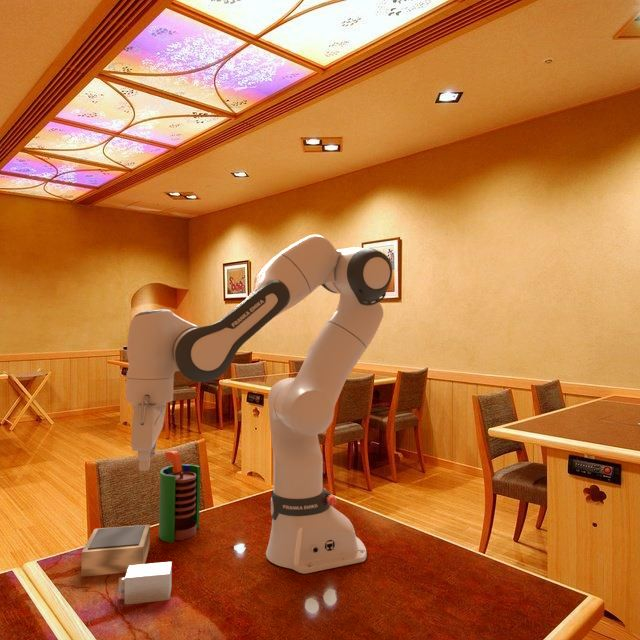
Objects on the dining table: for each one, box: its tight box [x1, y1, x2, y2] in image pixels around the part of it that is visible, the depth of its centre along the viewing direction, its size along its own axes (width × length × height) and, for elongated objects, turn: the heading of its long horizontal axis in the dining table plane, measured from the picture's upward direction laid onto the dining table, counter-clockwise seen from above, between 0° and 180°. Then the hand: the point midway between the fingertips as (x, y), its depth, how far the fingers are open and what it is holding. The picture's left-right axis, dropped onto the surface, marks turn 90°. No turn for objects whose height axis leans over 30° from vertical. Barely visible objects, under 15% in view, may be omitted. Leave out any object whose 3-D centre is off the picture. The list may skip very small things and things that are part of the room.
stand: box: [80, 524, 151, 578], centre depth 111 cm, size 12×12×5 cm
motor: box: [158, 450, 201, 543], centre depth 125 cm, size 10×9×20 cm
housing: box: [117, 561, 173, 605], centre depth 97 cm, size 9×5×5 cm, turn 102°
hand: (147, 463), depth 99 cm, fingers open, 8 cm apart
